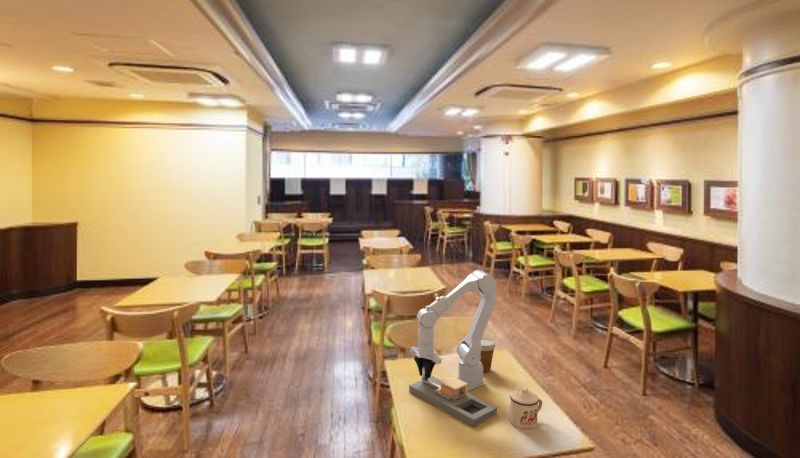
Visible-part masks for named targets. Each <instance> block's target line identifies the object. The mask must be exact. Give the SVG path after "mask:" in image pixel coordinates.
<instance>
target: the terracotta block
mask: <svg viewBox="0 0 800 458" xmlns="http://www.w3.org/2000/svg"><path fill="white" fill-rule="evenodd" d="M441 393H443V394H445V395H447V396H449V397H453V396H455V395H457V394H459V393H460V389H458V390H456V391H455V390H453V389H451V388H448V387H446V386H444V385H441Z"/></svg>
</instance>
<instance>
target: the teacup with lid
mask: <svg viewBox="0 0 800 458" xmlns="http://www.w3.org/2000/svg"><path fill="white" fill-rule="evenodd" d="M509 399H510V404H509V405H510V407H509V410H510V411H509V422H510V424H511V425H512V426H514V427H516V428H518V429H521V430H532V429H534V428H536V426H537V425H538V413H539V412H540V411H541V409H542V407H543V400H542V399H541V398H539V397H538V395H537V393H534V392H532V391H530V390H529V389H528V388H526V387H522V388H521V389H517V390H514V391H512V392H511V393H510V395H509Z"/></svg>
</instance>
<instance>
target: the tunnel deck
mask: <svg viewBox="0 0 800 458" xmlns="http://www.w3.org/2000/svg"><path fill="white" fill-rule="evenodd" d="M428 380H429V381H431V382H433V383H435V384H437V385H439V386H441V385H444V386H446V387H448V388H451V389H453V390H455V391H456V390H458V389H460V391H461V392H463V393H464V396H463V397H461V398H459V399H456V400H454V401H450V400H448V399H446V398H444V397H442V396H440V395H438V394H436V393H435V390H437V389H436V388H434V387H432V386H430V385H428V384H426V383H424V382H422V379H421V380H418V381H416V382H414V383H411V384H409V385H408V388H409V389H408V392H409V393H411V394H412V395H414V396H417V397H419V398H420V399H422V400H423V401H425V402H426V403H430V404H431V405H433V406H435V407H436V408H439V409H440V410H442V411H444V412H445V413H446V414H447V413H448V414H449V415H451V416H452V417H455V418H457V419H458V420H459V421H460V420H461V421H462V422H464V423H466V424H468V425H469V426H471V427H473V428H474V427H476V426H479V425H480V424H482V423H484V422H486V421H488V420H490V419H491V418H493V417H495V416H497V415H498V407H497V406H495V405H492V403H491V404H490V403H489V402H487V401H485V400H483V399H481V398H479V397H476V396H475V395H472V394H471V393H468V383H466V382H463V381H461V380H459V379H458V377H455V376H452V375H450V376H447V377H444V378H443V379H439V378H437V377H435V376H434V375H431V377H430V378H428Z"/></svg>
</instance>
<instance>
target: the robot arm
mask: <svg viewBox="0 0 800 458" xmlns="http://www.w3.org/2000/svg"><path fill="white" fill-rule="evenodd" d="M497 285H498V283H497V280H495V278H494V276H493V275H490V274H488V273H487V272H485V271H483V270H482V269H475V270H474V271H473V272H472V273H469V274H468V275H467V276H466V278H465V279H463V281H462V282H460V283H458V285H457V286H456V287H454V289H453V290H452V291H450V292H449V293H448V294H447V295H440V296H436V297H435V300H434V301H433V302H431V304H429V305H425V307H424V308H421V309H420V310H419V311H418V313H417V314H416V320H417V321H418V331H417V332H418V333H417V346H412V347H410V353H411V354H416V355H415V356H414V357H413V360H414V361H415V363H416V365H417V370H418V373H419V376H420V377H422V366H424V369H425V378H426V379H428V378H430V377H431V376H432V372H433V370H434V367H435V366H436V365H440V364H442V357H440V356H438V355H437V353H435V352H434V342H435V341H434V338H435V335H434V334H435V331H434V330H435V329H434V327H435V325H436V323H437V320H439V318H440V317H442V316H443V315H444V314H446V313H447V312H448V311H450V310H451V309H452V306H453V304H454V303H455V302H456V301H457V300H459V299H461V298H462V297H463V296H464V295H466V294H467V293H469V292H479V294H480V296H481V298H480V301H479V303H478V307H477V309H476V312H475V314H474V316H473V319H472V322H471V325H470V328H469V330H468V333H467V335H466V336H463V338H462V340H461V342H460V343H459V344H457V347H456V353H457V355H458V357H459V359H458V373H457V375H458V377H457V379H459V380H461V381H463V382H466V383H468V391H471V390H473V389H476V388H478V387H480V386H483V385H485V382H484V380H483V379H484V373H483V365H482V363H481V361H480V359H481V355H480V354H481V350H482V347H481V339H482V338H483V336H484V333H485V330H486V328H487V326H488V323H489V320H490V318H491V315H492V312H493V310H494V307H495V305H496V302H497V300H498V292H497Z"/></svg>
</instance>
